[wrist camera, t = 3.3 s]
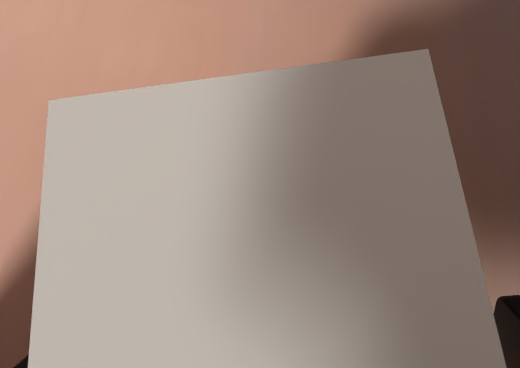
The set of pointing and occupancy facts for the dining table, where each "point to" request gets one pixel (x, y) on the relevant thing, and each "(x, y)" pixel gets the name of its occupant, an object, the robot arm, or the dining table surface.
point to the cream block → (260, 226)
